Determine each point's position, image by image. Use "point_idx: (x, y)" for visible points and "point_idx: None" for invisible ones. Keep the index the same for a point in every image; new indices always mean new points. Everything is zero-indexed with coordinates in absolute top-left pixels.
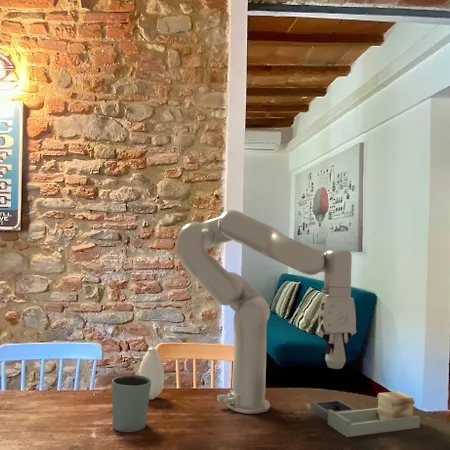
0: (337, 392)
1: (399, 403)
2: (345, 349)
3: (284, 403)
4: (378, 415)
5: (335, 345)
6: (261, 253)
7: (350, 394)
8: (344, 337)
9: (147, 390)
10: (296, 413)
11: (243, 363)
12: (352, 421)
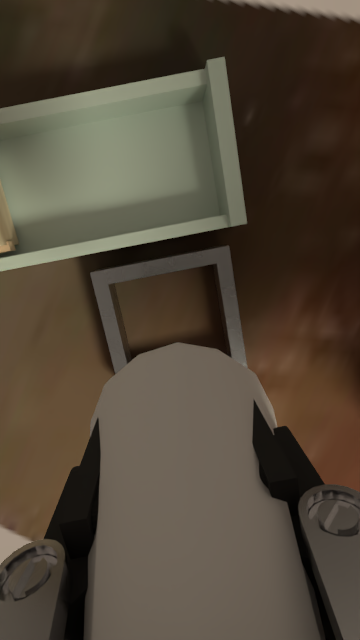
0: None
1: None
2: (67, 489)
3: (303, 441)
4: (12, 240)
5: (242, 466)
6: None
7: (24, 517)
8: (44, 636)
9: None
10: (301, 344)
11: None
12: (132, 231)
